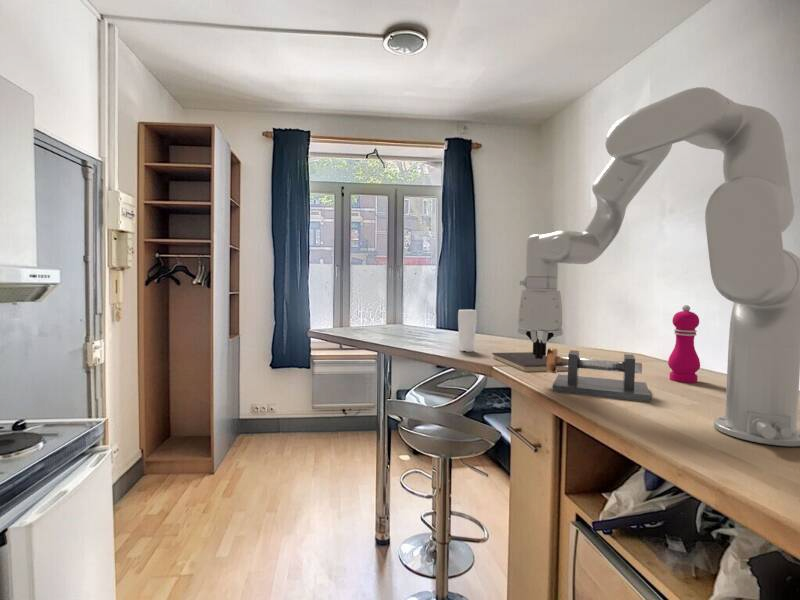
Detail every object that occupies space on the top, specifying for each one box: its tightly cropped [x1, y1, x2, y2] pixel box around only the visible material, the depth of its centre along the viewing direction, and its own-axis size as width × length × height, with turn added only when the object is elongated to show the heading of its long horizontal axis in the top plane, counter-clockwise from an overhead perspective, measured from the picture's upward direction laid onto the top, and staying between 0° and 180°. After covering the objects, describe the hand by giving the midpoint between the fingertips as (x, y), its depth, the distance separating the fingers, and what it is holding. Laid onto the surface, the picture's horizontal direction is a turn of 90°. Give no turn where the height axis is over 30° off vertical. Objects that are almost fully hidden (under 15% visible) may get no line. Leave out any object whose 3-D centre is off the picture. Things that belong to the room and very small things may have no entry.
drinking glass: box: [457, 309, 478, 353], centre depth 164 cm, size 7×7×15 cm
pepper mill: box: [667, 304, 701, 384], centre depth 119 cm, size 7×7×20 cm
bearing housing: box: [552, 349, 652, 403], centre depth 107 cm, size 20×14×8 cm
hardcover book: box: [491, 351, 568, 373], centre depth 141 cm, size 16×23×2 cm
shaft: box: [546, 348, 643, 374], centre depth 108 cm, size 20×6×6 cm, turn 66°
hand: (539, 358), depth 113 cm, fingers closed
